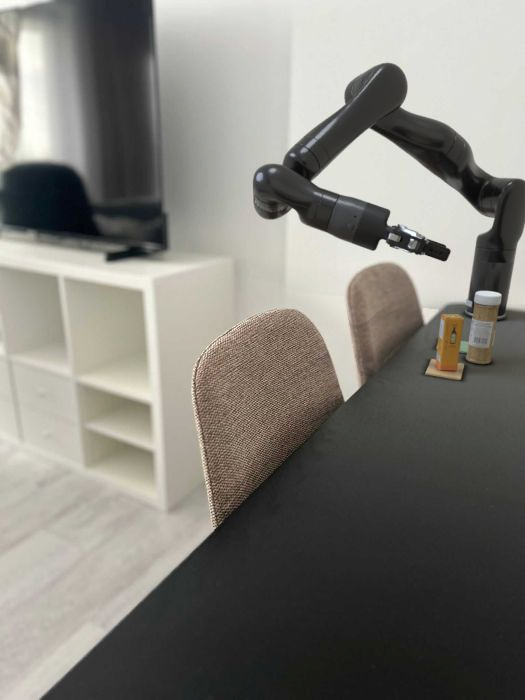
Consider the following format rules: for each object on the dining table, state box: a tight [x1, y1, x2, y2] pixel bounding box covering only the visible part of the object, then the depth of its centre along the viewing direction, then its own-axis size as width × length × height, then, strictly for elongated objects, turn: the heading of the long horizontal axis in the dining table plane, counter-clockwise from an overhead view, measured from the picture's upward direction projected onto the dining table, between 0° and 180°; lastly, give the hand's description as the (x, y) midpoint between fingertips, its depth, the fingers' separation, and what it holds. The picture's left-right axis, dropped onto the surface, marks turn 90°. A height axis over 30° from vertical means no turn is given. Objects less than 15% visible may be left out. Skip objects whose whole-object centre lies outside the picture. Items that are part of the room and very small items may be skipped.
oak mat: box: [424, 358, 465, 381], centre depth 94 cm, size 8×6×1 cm
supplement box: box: [435, 313, 465, 371], centre depth 92 cm, size 3×3×10 cm
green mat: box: [435, 340, 469, 354], centre depth 107 cm, size 7×6×1 cm
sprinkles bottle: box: [465, 291, 502, 365], centre depth 97 cm, size 5×5×13 cm
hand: (446, 253), depth 88 cm, fingers open, 8 cm apart
